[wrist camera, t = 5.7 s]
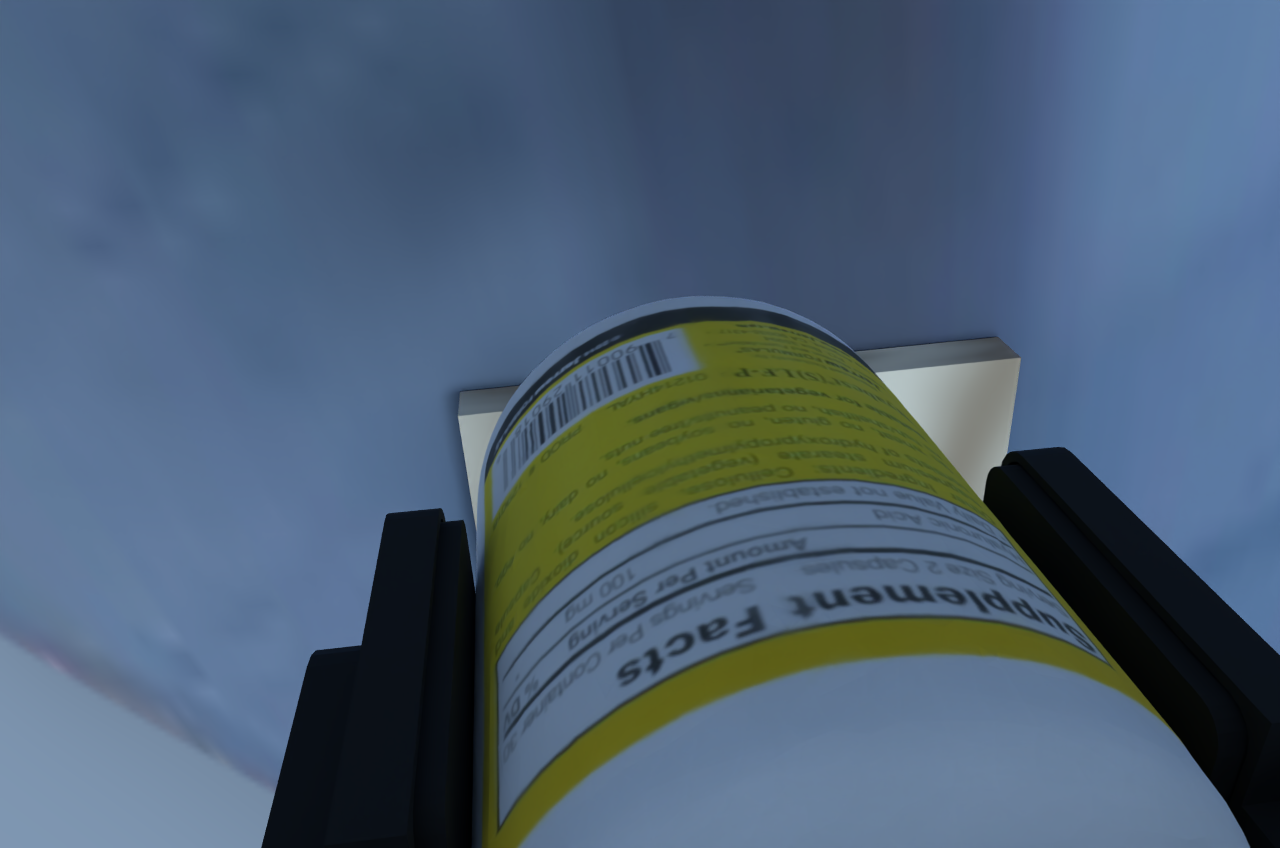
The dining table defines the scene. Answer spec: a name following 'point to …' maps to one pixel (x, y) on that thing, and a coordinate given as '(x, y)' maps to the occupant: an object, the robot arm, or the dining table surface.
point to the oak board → (917, 375)
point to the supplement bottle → (781, 620)
